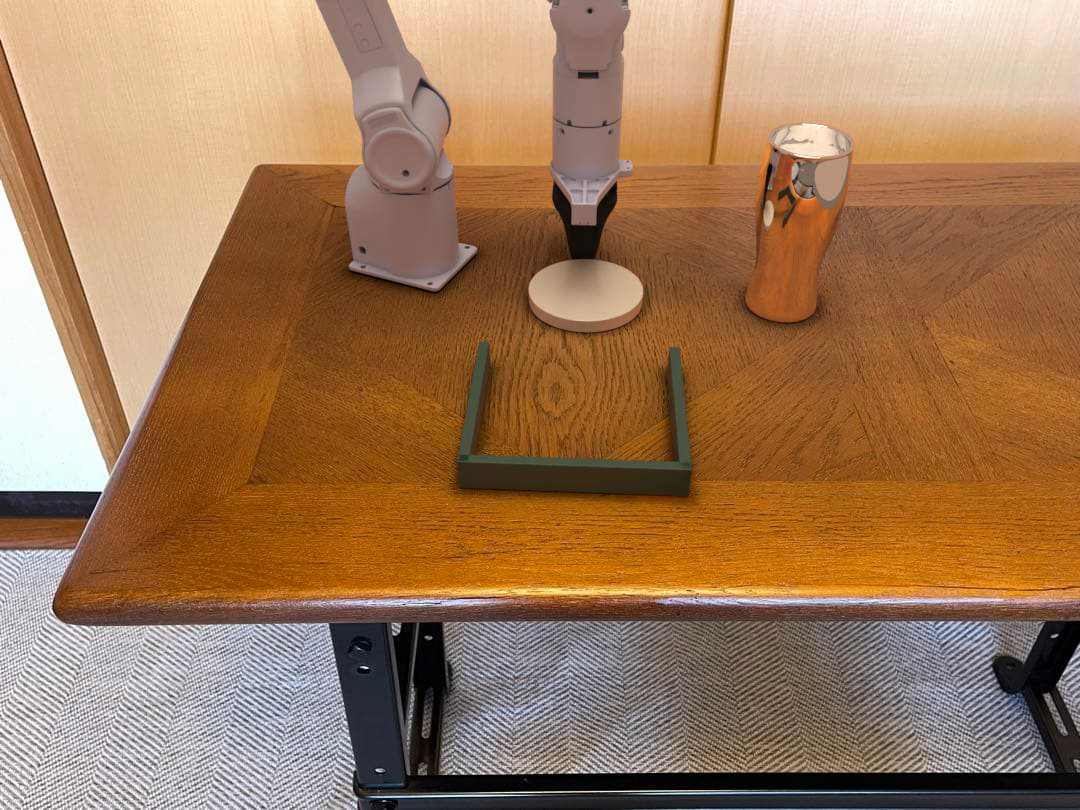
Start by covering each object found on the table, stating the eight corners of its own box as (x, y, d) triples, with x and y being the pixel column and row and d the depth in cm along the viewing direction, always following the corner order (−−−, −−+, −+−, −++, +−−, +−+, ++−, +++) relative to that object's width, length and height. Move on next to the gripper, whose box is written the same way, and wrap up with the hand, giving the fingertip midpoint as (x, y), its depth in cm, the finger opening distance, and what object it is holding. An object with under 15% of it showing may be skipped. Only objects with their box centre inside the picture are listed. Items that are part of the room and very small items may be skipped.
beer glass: (822, 330, 78) (860, 162, 68) (738, 321, 79) (764, 154, 69) (820, 286, 83) (855, 124, 73) (741, 278, 84) (765, 118, 74)
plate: (510, 318, 79) (510, 306, 78) (552, 261, 86) (552, 250, 86) (622, 343, 76) (623, 331, 76) (656, 282, 83) (657, 270, 83)
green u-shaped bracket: (480, 366, 74) (479, 341, 72) (676, 372, 73) (679, 346, 72) (459, 488, 63) (456, 461, 62) (688, 496, 63) (692, 469, 61)
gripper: (638, 152, 71) (628, 302, 79) (633, 82, 82) (625, 220, 90) (545, 151, 71) (546, 300, 80) (553, 81, 82) (553, 219, 91)
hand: (583, 258), depth 85 cm, fingers closed
